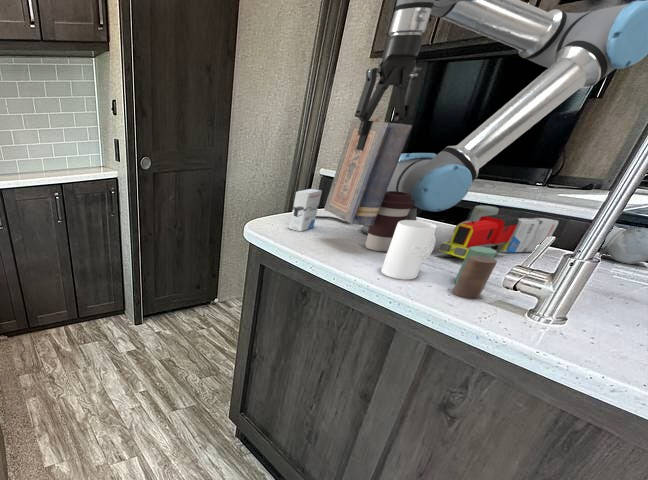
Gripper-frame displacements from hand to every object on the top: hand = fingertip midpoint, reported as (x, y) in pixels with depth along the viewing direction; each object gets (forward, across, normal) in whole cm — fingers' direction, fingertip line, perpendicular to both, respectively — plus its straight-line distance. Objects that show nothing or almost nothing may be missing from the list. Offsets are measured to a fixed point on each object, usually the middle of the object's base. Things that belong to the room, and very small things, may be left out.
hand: (373, 149), depth 104 cm
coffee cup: (+25, +8, -4) cm, 27 cm away
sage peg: (+25, +13, -32) cm, 43 cm away
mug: (+25, +2, -24) cm, 35 cm away
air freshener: (+25, +40, -2) cm, 47 cm away
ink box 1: (+25, -5, +20) cm, 33 cm away
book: (+18, -2, 0) cm, 18 cm away
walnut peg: (+25, +7, -38) cm, 46 cm away
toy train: (+25, +29, -14) cm, 41 cm away
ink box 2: (+21, +41, -10) cm, 47 cm away
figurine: (+21, +64, -16) cm, 69 cm away
